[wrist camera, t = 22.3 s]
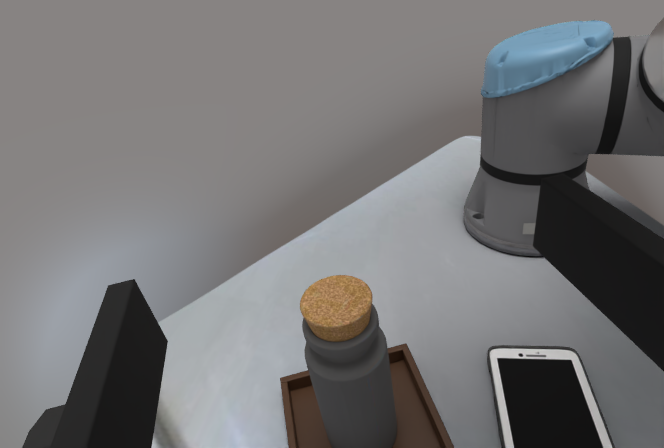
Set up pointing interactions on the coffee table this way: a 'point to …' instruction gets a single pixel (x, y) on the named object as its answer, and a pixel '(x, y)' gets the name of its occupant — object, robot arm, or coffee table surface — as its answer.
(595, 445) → the cell phone
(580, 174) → the robot arm
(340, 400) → the bottle
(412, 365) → the tray
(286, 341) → the coffee table surface
